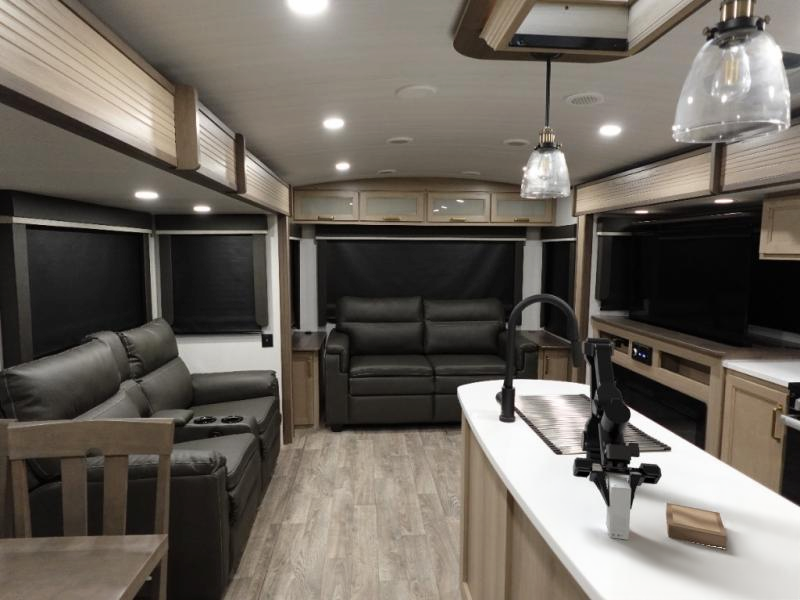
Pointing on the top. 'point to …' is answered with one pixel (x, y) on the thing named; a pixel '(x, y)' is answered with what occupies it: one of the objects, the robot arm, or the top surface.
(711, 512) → the walnut tray
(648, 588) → the top surface
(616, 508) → the skincare box
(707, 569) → the top surface
